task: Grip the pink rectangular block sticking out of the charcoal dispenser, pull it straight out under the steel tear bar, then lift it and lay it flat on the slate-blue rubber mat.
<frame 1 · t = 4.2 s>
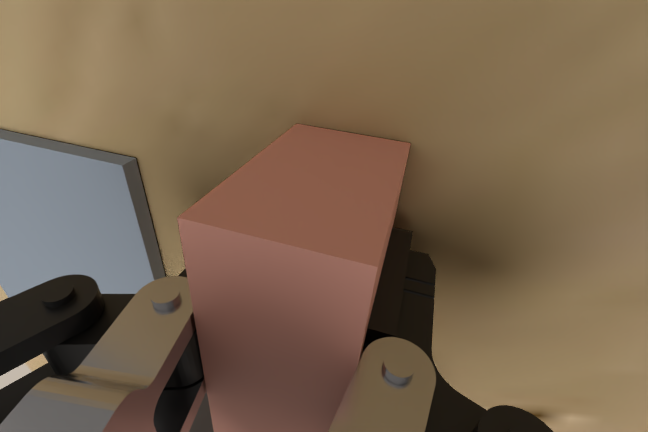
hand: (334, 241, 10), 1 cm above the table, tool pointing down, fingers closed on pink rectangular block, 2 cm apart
pink rectangular block: (331, 301, 12), on the table, touching gripper
rubber mat: (86, 291, 17), on the table
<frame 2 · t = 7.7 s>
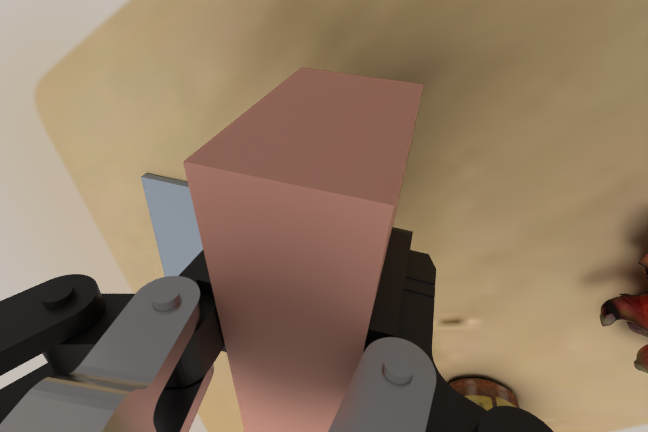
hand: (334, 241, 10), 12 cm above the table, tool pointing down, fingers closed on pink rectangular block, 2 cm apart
pink rectangular block: (341, 254, 12), point 10 cm above the table, touching gripper
rubber mat: (215, 267, 31), on the table
sauce bottle: (480, 395, 30), on the table
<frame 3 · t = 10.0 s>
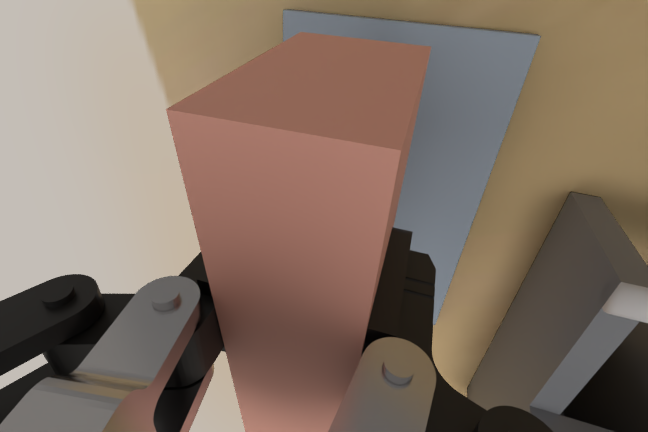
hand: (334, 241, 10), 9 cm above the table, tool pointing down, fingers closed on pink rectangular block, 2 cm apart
ticket dispenser: (572, 328, 20), on the table
pink rectangular block: (343, 237, 12), point 7 cm above the table, touching gripper
rubber mat: (375, 191, 19), on the table
when the fingers open (3 cm above the table, at t = 11.6 s): pink rectangular block drops 1 cm, resting on rubber mat.
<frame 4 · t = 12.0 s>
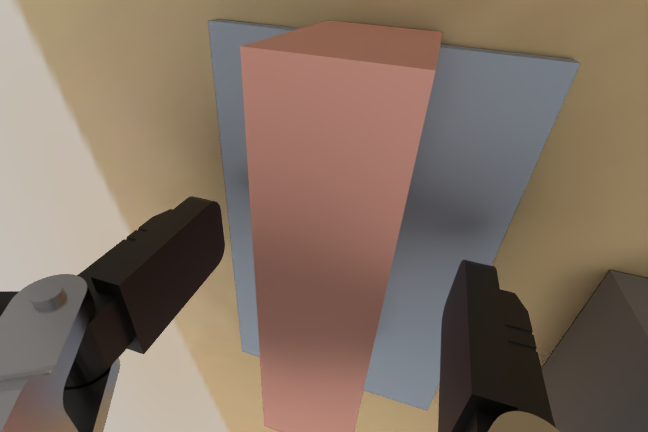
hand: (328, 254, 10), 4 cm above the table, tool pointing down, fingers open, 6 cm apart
ticket dispenser: (602, 426, 15), on the table
pink rectangular block: (357, 216, 13), point 1 cm above the table, touching rubber mat
rubber mat: (348, 254, 14), on the table
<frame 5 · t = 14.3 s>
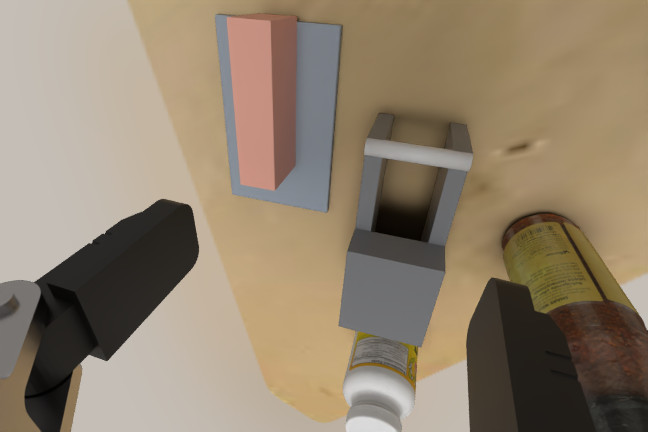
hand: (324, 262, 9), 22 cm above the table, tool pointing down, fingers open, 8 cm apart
ticket dispenser: (404, 205, 32), on the table
pink rectangular block: (279, 97, 30), point 1 cm above the table, touching rubber mat
supplement bottle: (389, 318, 41), on the table
rubber mat: (279, 122, 31), on the table
sauce bottle: (541, 239, 31), on the table
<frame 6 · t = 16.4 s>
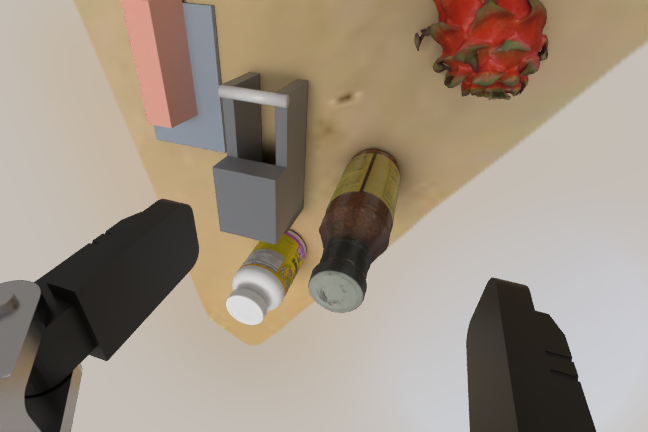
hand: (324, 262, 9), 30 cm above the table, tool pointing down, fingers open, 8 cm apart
ticket dispenser: (278, 146, 43), on the table
dragon fruit: (476, 26, 31), on the table
pink rectangular block: (178, 60, 40), point 1 cm above the table, touching rubber mat
supplement bottle: (286, 244, 51), on the table
rubber mat: (183, 80, 42), on the table
sauce bottle: (376, 171, 41), on the table
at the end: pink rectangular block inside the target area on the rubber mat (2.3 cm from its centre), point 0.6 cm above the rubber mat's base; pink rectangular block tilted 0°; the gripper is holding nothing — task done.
